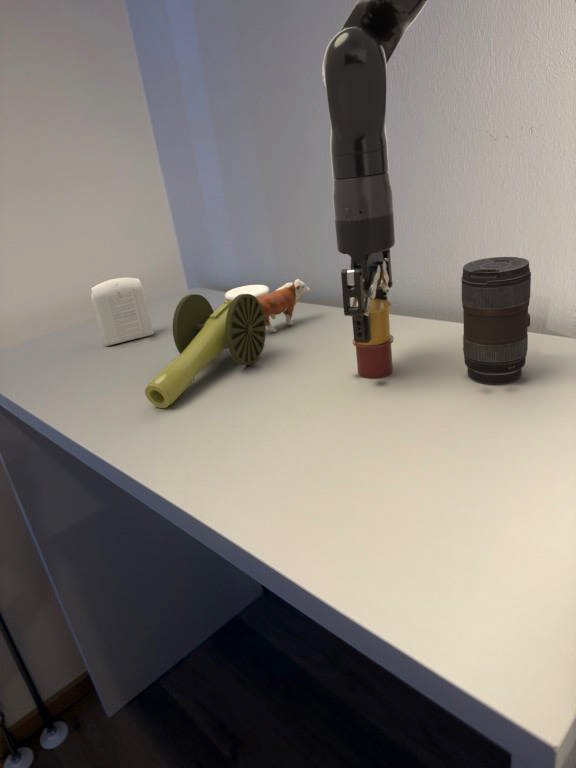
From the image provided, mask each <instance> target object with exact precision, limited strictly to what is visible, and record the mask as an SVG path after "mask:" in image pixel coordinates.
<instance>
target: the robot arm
mask: <svg viewBox="0 0 576 768" xmlns="http://www.w3.org/2000/svg"><path fill="white" fill-rule="evenodd" d="M428 1H429V0H357V1H356V3H355V5H354V6H353V8H352V10H351V11H350V13H349V14H348V17H347V18H346V20H345V22H344V23H343V25H342V27H341V28H340V30H339V32H338V33H337V34H336V35H334V37H332V38H331V40H330V42H329V43H328V45H327V47H326V49H325V52H324V55H323V60H322V66H321V75H322V81H323V84H324V86H325V90H326V99H327V108H328V115H329V122H330V140H329V141H330V143H329V148H330V149H329V150H330V152H329V153H330V162H331V163H330V164H331V172H332V173H331V175H332V205H333V215H334V226H335V235H336V236H335V237H336V246H337V247H336V248H337V251H338V253H341V254H342V255H348V256H349V257H350V266H349V268H342V269H341V272H340V277H341V278H340V279H341V291H342V305H343V315H344V317H351V321H352V330H353V331H352V332H353V339H354V341H355V342H357V343H368V342H369V341H370V340H371V327H370V315H369V313H370V305H371V301H372V300H374V299H381V300H387V301H389V299H388V296H389V294H390V292H391V291H390V289H392V288H393V285H394V284H393V283H394V282H393V275H392V273H393V272H392V262H391V261H392V260H391V249H392V248H393V247H394V246H395V243H396V240H395V239H396V237H395V219H394V217H395V216H394V203H393V201H394V200H393V190H392V182H391V177H390V168H389V167H390V165H389V150H388V148H389V147H388V138H387V130H386V119H387V118H386V116H387V96H388V95H387V93H388V89H387V87H388V71H387V70H388V69H387V66H388V63H389V62H390V60H391V58H392V56H393V55H394V53H395V51H396V49H397V47H398V46H399V44H400V42H401V39H402V38H403V36H404V35H405V33H406V32H407V30H408V29H409V27H410V26H411V25H412V24H413V23H414V22H415V21H416V19H417V18H418V17H419V15H420V14H421V12H422V10H423V9H424V8H425V6H426V4H427V3H428ZM574 1H575V2H574V3H576V0H574ZM364 300H365V302H364ZM357 302H358V306H356V304H357Z"/></svg>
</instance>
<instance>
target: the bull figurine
mask: <svg viewBox="0 0 576 768" xmlns="http://www.w3.org/2000/svg"><path fill="white" fill-rule="evenodd" d="M310 293H311V288H309V287H308V285H306V283H305V282H303V281H301V279H299V278H298V279H295V280H293V282H287V283H284V285H282V286H280V287H278V288H276V289H275V290H274V291H271V292H269V293H268V294H265V295H261V296H258V297H256V298H257V300H258V301H259V302H260V304H261V306H262V309H263V312H264V317H265V324H266V328H267V329H268V332H270V333H277V332H278V330H277V329H276V328H275V327H274V326H273V325H272V323H271V322H270V317H271V318H272V319H273V320H275V319H276V316H278V315H280V314H282V313H283V315H284V317H285V322H286V323H287V325H289V326H294V325H295V323H294V322H293V320H292V317H293V312H294V310H295V306H296V305H297V303H298V301H299V299H300V298H302V297H303V296H304V295H305V294H307V295H308V294H310Z"/></svg>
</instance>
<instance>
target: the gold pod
mask: <svg viewBox="0 0 576 768" xmlns="http://www.w3.org/2000/svg"><path fill="white" fill-rule="evenodd" d="M364 302H365V300H364ZM356 306H358V301H357V304H356ZM391 307H392V303H391V301H389V300H388V301H387V300H381V299H374V300H372V301H371V305H370V313H369V315H370V327H371V340H370V341H369V342H368V343H357V342H356V343H357V344H359V345H366V346H372V345H379V344H383V343H385V342H387V341H389V340H390V334H391V328H390V327H391V326H390V309H391Z"/></svg>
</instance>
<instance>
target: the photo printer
mask: <svg viewBox="0 0 576 768" xmlns="http://www.w3.org/2000/svg"><path fill="white" fill-rule="evenodd" d="M90 292H91V293H90V300H91V304H92V307H93V310H94V314H95V318H96V322H97V325H98V329H99V332H100V336H101V340H102V343H103V345H104V346H107V347H109V346H113V345H116V344H121V343H125V342H128V341H132V340H133V341H134V340H137V339H141V338H145V337H149V336H153V335H154V334H155V331H154V327H153V322H152V318H151V314H150V310H149V306H148V301H147V297H146V296H147V295H146V293H145V289H144V286H143V284H142V283H141V280H140V279H139V278H136V277H116V278H111V279H108V280H105V281H102V282H101V283H98V284H96V285H95V286H93V287H91V288H90Z"/></svg>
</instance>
